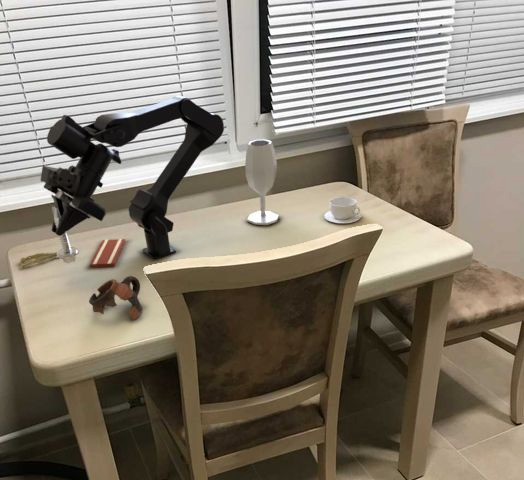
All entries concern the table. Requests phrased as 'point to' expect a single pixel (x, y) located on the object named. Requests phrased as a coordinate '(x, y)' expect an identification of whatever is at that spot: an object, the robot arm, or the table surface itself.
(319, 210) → the table surface
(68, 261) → the screw
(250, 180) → the wineglass
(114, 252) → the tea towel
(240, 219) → the table surface
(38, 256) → the tongs
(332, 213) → the teacup
